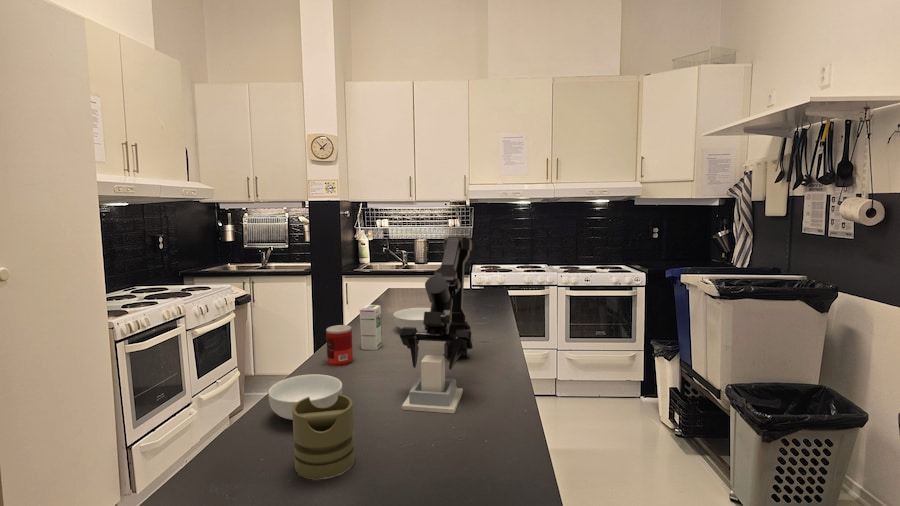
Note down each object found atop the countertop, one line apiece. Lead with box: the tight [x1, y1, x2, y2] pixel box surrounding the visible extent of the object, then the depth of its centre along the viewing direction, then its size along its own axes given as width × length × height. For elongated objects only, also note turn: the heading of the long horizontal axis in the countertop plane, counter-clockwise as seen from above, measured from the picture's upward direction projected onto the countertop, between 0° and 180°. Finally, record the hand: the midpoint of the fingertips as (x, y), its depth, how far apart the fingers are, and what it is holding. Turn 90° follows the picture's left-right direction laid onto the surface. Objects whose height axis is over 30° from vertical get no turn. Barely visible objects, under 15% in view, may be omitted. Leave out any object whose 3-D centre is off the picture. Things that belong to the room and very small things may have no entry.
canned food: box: [325, 324, 354, 367], centre depth 154 cm, size 8×8×11 cm
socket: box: [401, 376, 464, 414], centre depth 125 cm, size 13×13×4 cm
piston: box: [292, 394, 355, 479], centre depth 95 cm, size 11×12×11 cm
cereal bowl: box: [267, 373, 343, 421], centre depth 117 cm, size 17×17×7 cm
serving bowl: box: [393, 307, 431, 333], centre depth 190 cm, size 21×21×7 cm
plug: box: [420, 354, 446, 393], centre depth 124 cm, size 5×5×10 cm
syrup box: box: [359, 304, 384, 351], centre depth 168 cm, size 6×6×14 cm
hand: (431, 368), depth 122 cm, fingers open, 9 cm apart
